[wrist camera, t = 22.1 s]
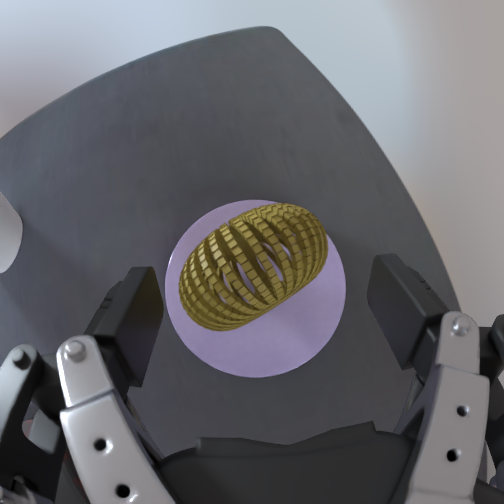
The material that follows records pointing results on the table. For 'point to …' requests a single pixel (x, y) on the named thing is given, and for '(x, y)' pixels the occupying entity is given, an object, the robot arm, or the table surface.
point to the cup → (9, 234)
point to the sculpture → (252, 265)
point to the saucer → (266, 326)
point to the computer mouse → (65, 478)
